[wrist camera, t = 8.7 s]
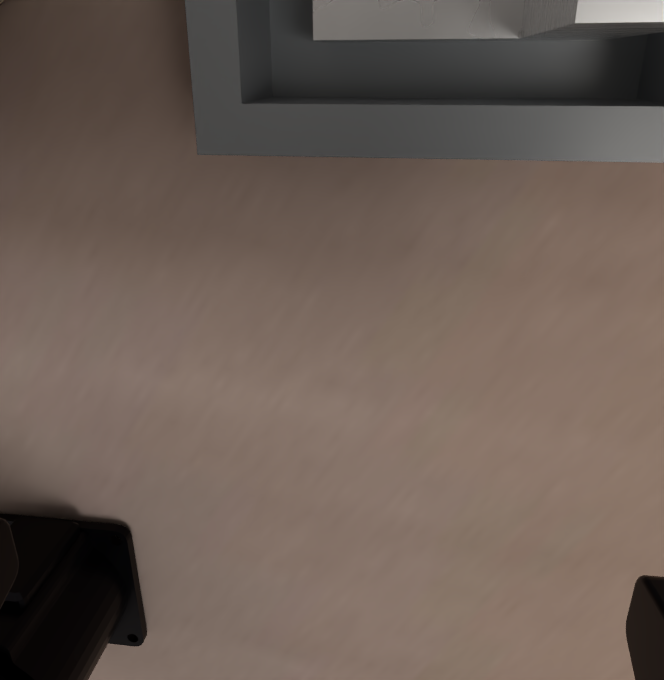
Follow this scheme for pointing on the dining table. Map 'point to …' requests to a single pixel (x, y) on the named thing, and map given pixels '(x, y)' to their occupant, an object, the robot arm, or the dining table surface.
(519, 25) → the bracket
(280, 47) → the bin
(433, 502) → the dining table surface
